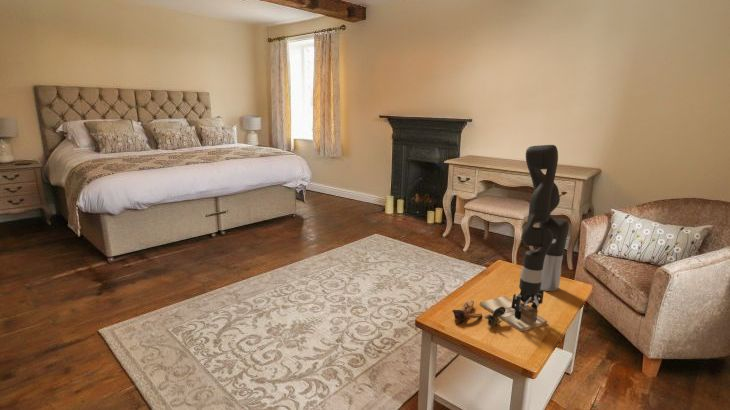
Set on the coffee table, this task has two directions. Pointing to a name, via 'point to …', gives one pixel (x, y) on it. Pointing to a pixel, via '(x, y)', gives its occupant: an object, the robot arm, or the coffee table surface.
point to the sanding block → (528, 314)
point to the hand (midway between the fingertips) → (525, 316)
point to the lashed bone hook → (465, 312)
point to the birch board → (510, 313)
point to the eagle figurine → (495, 316)
